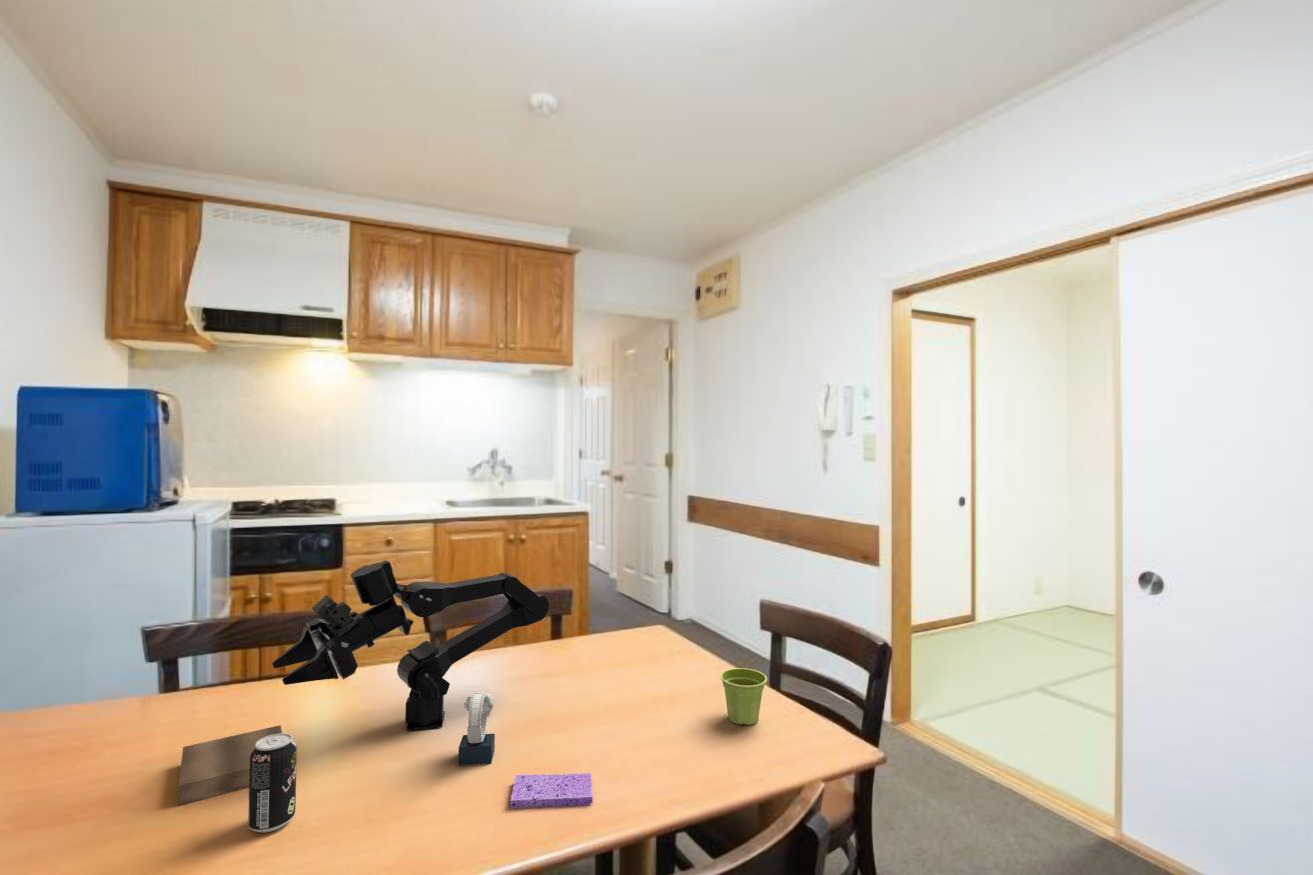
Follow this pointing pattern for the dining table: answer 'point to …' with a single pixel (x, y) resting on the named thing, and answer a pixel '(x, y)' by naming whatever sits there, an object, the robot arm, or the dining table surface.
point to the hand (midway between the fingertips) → (277, 673)
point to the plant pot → (743, 694)
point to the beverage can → (272, 783)
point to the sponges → (551, 790)
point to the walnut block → (218, 765)
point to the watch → (477, 731)
